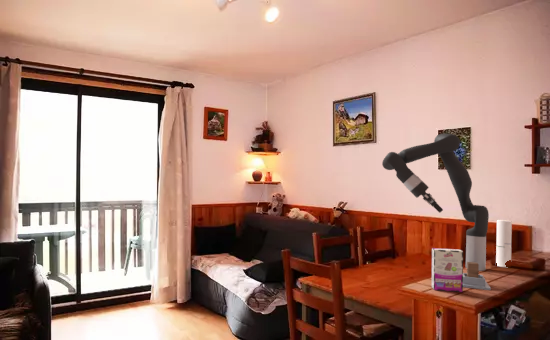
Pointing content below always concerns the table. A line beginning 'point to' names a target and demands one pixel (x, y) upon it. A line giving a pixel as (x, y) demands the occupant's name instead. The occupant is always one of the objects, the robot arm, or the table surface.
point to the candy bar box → (447, 269)
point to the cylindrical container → (503, 242)
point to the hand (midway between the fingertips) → (441, 210)
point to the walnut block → (472, 269)
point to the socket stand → (475, 282)
